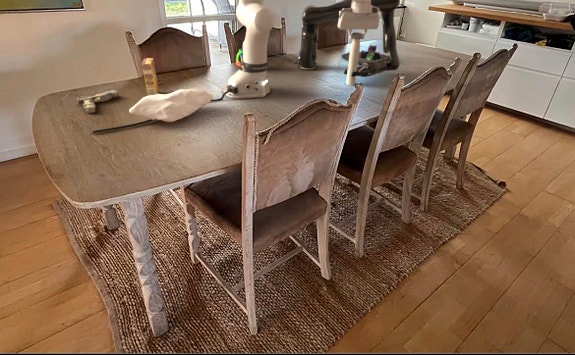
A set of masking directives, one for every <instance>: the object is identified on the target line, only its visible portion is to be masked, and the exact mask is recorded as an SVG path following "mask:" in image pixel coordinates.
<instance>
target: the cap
mask: <svg viewBox="0 0 575 355" xmlns="http://www.w3.org/2000/svg"><path fill="white" fill-rule="evenodd" d="M362 33H363V32H358V31H357V32H356V31H355V32H351V34H352V35H353V39H360V40H362V39H361V36H362ZM353 39H352V40H353Z"/></svg>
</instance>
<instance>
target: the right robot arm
mask: <svg viewBox="0 0 575 355" xmlns="http://www.w3.org/2000/svg"><path fill="white" fill-rule="evenodd" d="M400 3H401V0H371V5H373V6H375V7H377V8H379V9H380V11H379V12H380V15H381V22H382V52H383V53H384V54H388V56H389V57H390V58H383V59H380V60H376V61H368V62H364V63H362V64H360V65H358V66H357V71H356V72H352V75H351V76H352V77H355V76H356V77H360V78H367V77H371V76H375V75H378V74H381V73H384V72H389V71H397V70H398V69H399V67H400V64H401V62H400V57H399V53H398V50H397V33H396V28H395V10H397V8H398V7H399V6H400ZM351 4H352V0H349V1H344V0H341V1H339V2H336V3H333V4H330V5H327V6H315V5H314V4H308V5H307V6H305V7H304V8H303V10H302V14H301V38H300V39H301V41H300V43H301V44H300V49H299V56H298V57H297V60H295V61H292V60H290V59H289V58H286V57H285V56H283V55H281V54H277V53H273V52H271V51H269V50H267V51H268V52H267V53H269V54H270V55H273V56H277V57H280V58H283V60H285V61H288V62H289V63H292V64H298V67H299V68H300V69H301V70H304V71H312V70H316V68H317V56H318V55H317V54H318V43H319V42H318V41H319V24H322V23H325V22H331V21H338V20H339V12H340V10H341V9H343V8H351ZM342 11H343V10H342ZM347 71H348V66H347V67H346V69H344V71H343V74H344V75H347Z"/></svg>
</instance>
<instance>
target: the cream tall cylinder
mask: <svg viewBox="0 0 575 355" xmlns="http://www.w3.org/2000/svg"><path fill="white" fill-rule="evenodd" d="M351 40H352V41H351V43H350V48H349V53H350V55H349V61H348V65H347V67H348V71H347V74H346V81H345V85H347V86H351V87H352V86H355V85H356V80H357V76H355V77H352V76H351V75H352V72H356V71H357V66H359V65H358V64H359V63H358V59H359V52H361V41H360V40H361V39H351Z"/></svg>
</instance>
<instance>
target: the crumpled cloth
mask: <svg viewBox="0 0 575 355" xmlns="http://www.w3.org/2000/svg"><path fill="white" fill-rule="evenodd" d="M213 97H214V96H213V94H212V93H210V92H208V91H206V90H203V89H201V88H187V89H186V88H185V89H184V88H183V89H177V90H175V91H173V92H171V93H167V94H163V93H158V94H156V95H150V96H148V95H146V96H144V97H142V98H141V99H140V100H139V101H138V102H137V103H136V104H134V105H133V106H132V107H131V108H129V114H130V115H135V116H140V117H145V118H146V119H148V120H150V119H152V120H155V119H158V121H163V122H166V123H174V122H176V121H178V120H181V119H183V118H185V117H188V116H190V115H192V114H193V113H195V112H196V111H197V110H199V109H200V108H202V107H204V106H206V105H207V104H210V102H212V101H211V100H213V99H214V98H213ZM155 121H156V120H155Z"/></svg>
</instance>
